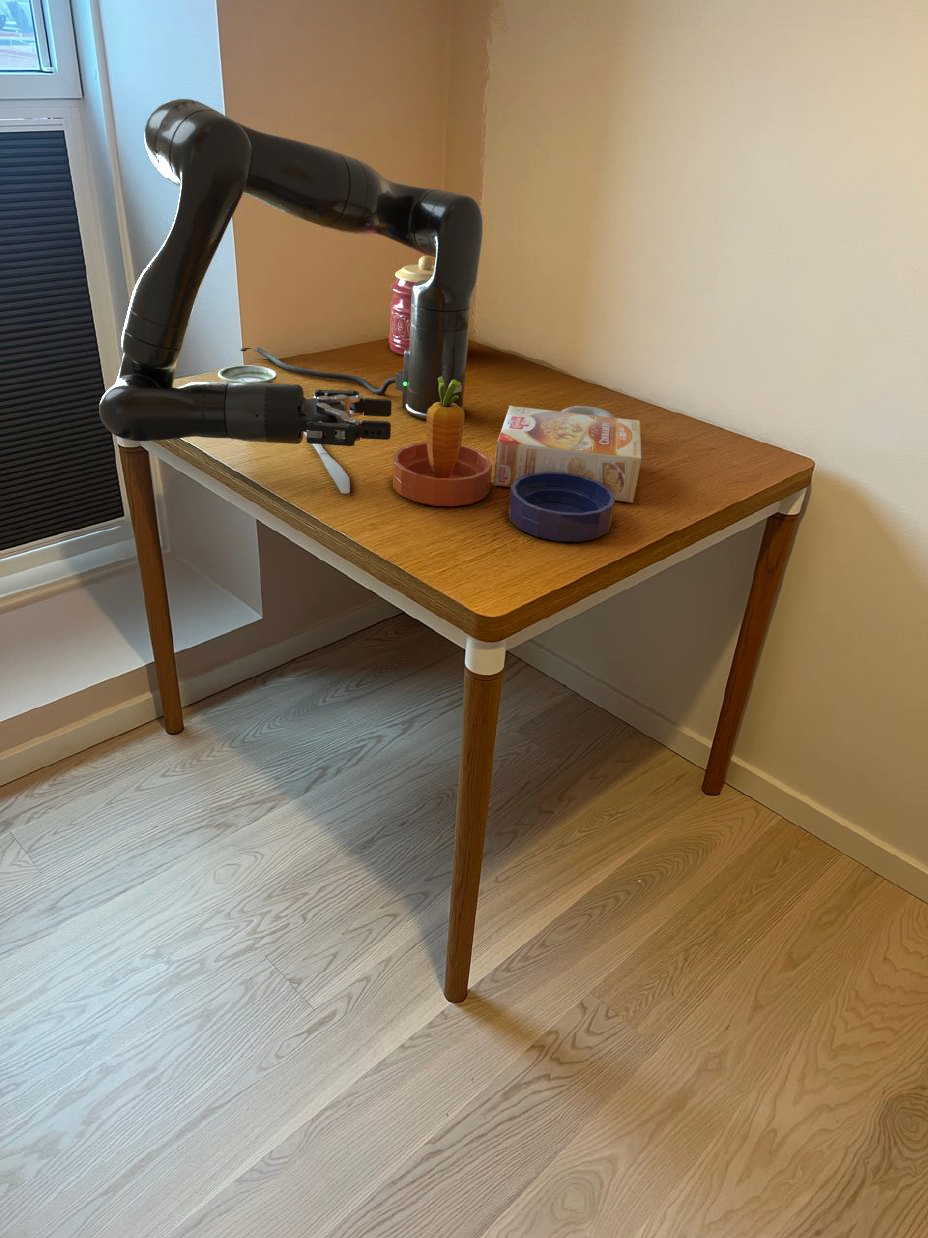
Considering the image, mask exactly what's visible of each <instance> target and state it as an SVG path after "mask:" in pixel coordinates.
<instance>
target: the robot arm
mask: <svg viewBox="0 0 928 1238" xmlns="http://www.w3.org/2000/svg"><path fill="white" fill-rule="evenodd" d="M143 136H144V137H143V138H144V144H145V149H146V151H147V153H148V156H149V158H150V160H151V162H152V164H153V165H154V166H155V167H156V168H157V170H158V171H159V172H160V173H161V174H162V175H163V176H164V177H165V178H166V179H167V180H169V181H170V182H171V183H173V184H174V185H176V186H177V187H179V188H180V192H179V199H178V204H177V209H176V215H175V217H174V222H173V223H172V227H171V228H170V229H171V230H170V231H169V234H168V235H167V238H166V239H165V241H164V243H163V245H162V246H161V248H160V249H159V250H158V252H157V253H156V254H155V256H154V257H153V258H152V259H151V261H150V262H149V263H148V265H147V266H146V268H144V270H143V271H142V273H141V274H140V277H139V278H138V280H137V282H136V284H135V285H134V286H135V287H134V289H133V291H132V294H131V298H130V301H129V306H128V310H127V314H126V318H125V322H124V326H123V329H122V334H121V341H120V342H121V343H120V347H121V350H122V352H123V355H122V360H121V364H120V368H119V372H118V375H117V379H116V381H115V383H114V384H113V385H111V387H110V388H109V389H108V390H106V392H105V393H104V394H103V395H102V397H101V400H100V402H99V406H98V414H99V415H98V416H99V419H100V420H101V421H100V422H101V423H102V425H103V426H104V427H105V428H106V430H107V431H108V432H109V433H111V434H112V435H114V436H116V437H118V438H119V439H123V440H127V441H133V442H157V441H168V440H169V441H170V440H176V439H177V440H178V439H185V438H193V437H194V438H195V437H199V438H205V439H226V440H228V439H230V440H237V441H241V442H248V443H249V442H250V443H269V444H270V443H271V444H291V445H299V444H301V443H302V441H303V439H304V435H305V434H304V432H307V437H306V443H308V444H311V445H312V444H321V445H327V446H341V447H342V446H343V447H353V446H355V443H356V442H359V441H361V440H381V441H388V440H390V439H391V437H392V436H391V433H392V432H391V431H392V424H391V422H390V421H387V420H369V419H368V420H367V419H361V420H360V419H357V418H356V417H359V416H363V417H364V416H365V417H384V418H388V417H391V416H392V403H393V402H392V400H391V399H389V398H373V397H372V398H371V397H364V396H363V395H361V394H360V391H358V390H348V389H347V390H346V389H345V390H343V389H342V390H341V389H320V388H318V389H315V390H314V396H313V398H305V396H304V395H305V394H304V388H303V387H302V386H301V385H300V384H289V383H275V382H272V383H254V382H243V383H225V382H217V381H215V382H213V381H195V382H194V381H193V382H189V383H187V384H184V385H182V386H177V387H174V381H175V377H176V376H175V375H176V368H177V362H178V360H179V358H180V355H181V352H182V348H183V345H184V342H185V337H186V334H187V332H188V331H187V330H188V327H189V325H190V324H189V323H190V320H191V317H192V313H193V309H194V307H195V303H196V301H197V297H198V295H199V291H200V289H201V286H202V284H203V281H204V279H205V277H206V274H207V272H208V270H209V268H210V266H211V263H212V261H213V260H214V258H215V255H216V253H217V251H218V249H219V246H220V244H221V242H222V240H223V238H224V235H225V233H226V231H227V228H228V227H229V224H230V223H231V220H232V219H233V216H234V214H235V212H236V210H237V207H238V205H239V203H240V201H241V199H242V197H243V195H244V194H245V195H248V196H251V197H253V198H255V199H257V200H259V201H261V202H263V203H265V204H267V205H269V206H270V207H272V208H274V209H276V210H279V211H281V212H283V213H285V214H287V215H289V216H291V217H294V218H296V219H298V220H301V221H303V222H306V223H308V224H312V225H314V226H317V227H321V228H325V229H328V230H331V231H335V232H339V233H345V234H351V235H378V236H381V237H385V238H387V239H389V240H392V241H394V242H397V243H399V244H401V245H404V246H405V247H407V248H409V249H411V250H414V251H416V252H418V253H420V254H422V255H424V256H428V257H433V258H435V261H434V266H435V267H434V272H433V275H432V277H431V278H429V279H425V280H420V281H418V282H416V283H415V284H414V285H413V287H412V293H411V317H410V343H409V349H407V350H405V352H404V355H403V370H401V371H399V372H398V371H397V372H396V373H395V376H392V377H390V378H388V379H386V380H385V381H384V382H383V384H382V386H381V387H380V388H376V387H374V386H373V385H372V384H371V383H370V382H369V381H368V380H366V379H364V378H362V377H360V376H355V375H352V374H344V373H333V372H332V373H331V372H326V371H319V370H314V369H308V368H303V367H298V366H294V365H292V364H291V365H290V364H287V363H285V362H283V361H281V360H279V359H278V358H277V357H276V356H275V355H273V354H271V353H268V352H267V351H266V350H264V349H262V348H261V347H260V346H258V348H257V351H256V350H254V352H257V353H258V354H260V355H261V356H262V357H264V358H266V359H268V360H269V361H271V362H273V363H274V364H275V365H276V366H278V367H280V368H282V369H284V370H287V371H290V372H293V373H298V374H301V375H307V376H311V377H317V378H325V379H331V380H341V381H348V382H349V381H350V382H354V383H359V384H361V385H363V386H364V387H365V388H366V389H367V390H369V391H370V392H372V393H373V394H375V395H378V396H379V395H384V394H385V393H386V391H387V390H388V388H389V386H390V385H392V384H394V386H395V387H394V390H397V391H400V392H402V402H401V405H402V406H401V408H402V409H405V411H406V413H408V414H409V415H411V416H412V417H414V418H417V419H421V420H426V421H427V411H428V409H429V408H430V407H431V406H432V405H433V404H435V403H437V402H441V399H440V394H439V382H438V378H439V377H441V376H442V377H443V379H444V384H445V393H446V390H447V388H448V386H449V384H450V383H451V381H452V380H456V381H457V382H460V383H461V385H460V386H459V387H458V388H457V389H456V390H455V391H454V393H453V395H452V397H453V396H454V395H457V396H459V398H458V399H457V400H455V401H454V402H453V403H455V404H457V405H458V406H460V407H461V408H462V409H463V410H464V397H465V387H466V386H465V383H466V369H467V357H468V343H469V330H470V317H471V316H470V315H471V304H472V303H471V302H472V297H473V294H474V292H475V290H476V287H477V282H478V276H479V270H480V269H479V268H480V259H481V253H482V246H483V236H484V234H483V233H484V219H483V213H482V209H481V207H480V205H479V203H478V201H476V199H474V198H473V197H472V196H469V195H466V194H463V193H458V192H454V191H453V192H452V191H449V190H443V189H439V188H430V187H420V186H413V185H408V184H403V183H398V182H394V181H391V180H389V179H387V178H386V177H384V176H383V175H382V174H380V172H378V171H377V170H376V169H374V168H373V167H372V166H371V165H369V164H368V163H365V162H364V161H361V160H360V159H357V158H355V157H352V156H349V155H346V154H343V153H340V152H338V151H335V150H333V149H329V148H325V147H321V146H318V145H315V144H312V143H308V142H303V141H301V140H300V141H299V140H296V139H292V138H288V137H283V136H279V135H275V134H269V133H265V132H262V131H259V130H256V129H254V128H251V127H248V126H246V125H243V124H241V123H239V122H237V121H236V120H233V119H232V118H230V117H228V116H227V115H225V114H223V113H222V112H219V111H218V110H216V109H214V108H212V107H210V106H209V105H206V104H204V103H202V102H200V101H198V100H194V99H191V98H177V99H171V100H169V101H166V102H164V103H162V104H161V105H159V106H157V107H156V108H155V109H154V110H153V111H152V112H151V113H150V115H149V117H148V118H147V121H146V124H145V126H144V135H143ZM247 350H252V349H251V348H242V347H240V349H239V351H240V352H246V351H247ZM354 417H355V418H354Z"/></svg>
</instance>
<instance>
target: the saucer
mask: <svg viewBox="0 0 928 1238" xmlns="http://www.w3.org/2000/svg"><path fill="white" fill-rule="evenodd" d="M217 376H218V378H219V379H220V380H222V382H223V383H243V382H254V383H274V381H275V380H276V379H277V378H278V373H277V372H276V371H275V370H273V369H272V368H269V367H265V366H260V365H251V364H241V365H233V366H232V365H231V366H228V367H225V368H222V369H221V370H219V371H218V372H217Z"/></svg>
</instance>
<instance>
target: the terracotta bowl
mask: <svg viewBox="0 0 928 1238" xmlns="http://www.w3.org/2000/svg"><path fill="white" fill-rule="evenodd" d="M392 458H393V459H392V460H393V461H392V488H393V489H394V491H396V493H398V494H399V495H400V496H402V497H404V498H406V499H408V500H410V501H413V502H415V503H420V504H424V505H430V506H435V507H436V506H438V507H459V506H465V505H471V504H475V503H477V502H479V501H481V500H483V499H485V498H486V497H487V495H488V494H489V493H490V492H491V485H492V474H493V464H492V459H491V458H490V457H489V456H488V455H487V454H485V453H484V452H483V451H482V450H478V449H477V448H473V447H471V446H468V445H465V444H461V447H460V451H459V455H458V458H457V461H456V465H455V467H454V469H453V471H452V473H451V475H450V476H449V478H435V477H434V475H433V472H432V469H431V466H430V463H429V457H428V450H427V441H425V442H419V443H411V444H409V445H406V446H403V447H401V448H399V449H398V450H397V451H396V452H395V453H393V457H392Z"/></svg>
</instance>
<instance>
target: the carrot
mask: <svg viewBox="0 0 928 1238" xmlns="http://www.w3.org/2000/svg"><path fill="white" fill-rule="evenodd" d="M438 382H439V394H440V399H441V402H437V403H435V404H433V405H432V406H431V407H430V408H429V409H428V411H427V420H426V431H425V432H426V441H425V442H427V450H428V457H429V463H430V466H431V469H432V472H433V475H434V477H435V478H449V476H450V475H451V473H452V471H453V469H454V467H455V465H456V461H457V458H458V455H459V451H460V447H461V445H462V442H463V436H464V435H463V434H464V433H463V432H464V426H465V416H466V415H465V410H464V408H463V409H462V408H461V407H460V406H458V405H457V404H455V403H453V402H454V401H455V400H457V399H458V398H459V396H457V395H454V396H453V397H452V395H453V393H454V391H455V390H456V389H457V388H458V387H459V386H460V385H461V383H460V382H457V381H456V380H452V381H451V383H450V384H449V386H448V388H447V390H446V393H445V384H444V379H443V377H442V376H441V377H439V378H438Z"/></svg>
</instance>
